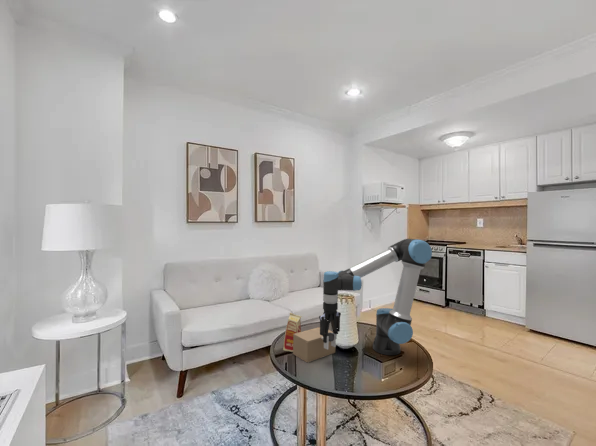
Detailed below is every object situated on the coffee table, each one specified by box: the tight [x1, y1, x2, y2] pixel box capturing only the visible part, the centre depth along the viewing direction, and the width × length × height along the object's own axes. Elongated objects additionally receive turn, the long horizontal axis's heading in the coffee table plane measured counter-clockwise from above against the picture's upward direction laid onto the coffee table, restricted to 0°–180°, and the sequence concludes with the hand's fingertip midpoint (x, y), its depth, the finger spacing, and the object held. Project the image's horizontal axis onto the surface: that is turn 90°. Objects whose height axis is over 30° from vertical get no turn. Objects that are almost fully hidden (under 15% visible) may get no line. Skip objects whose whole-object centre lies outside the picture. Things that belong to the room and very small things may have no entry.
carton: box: [292, 336, 336, 363], centre depth 159 cm, size 12×20×10 cm, turn 127°
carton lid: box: [293, 326, 334, 343], centre depth 156 cm, size 20×20×5 cm
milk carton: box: [282, 312, 303, 353], centre depth 166 cm, size 9×9×20 cm
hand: (329, 347), depth 150 cm, fingers closed on carton lid, 4 cm apart
